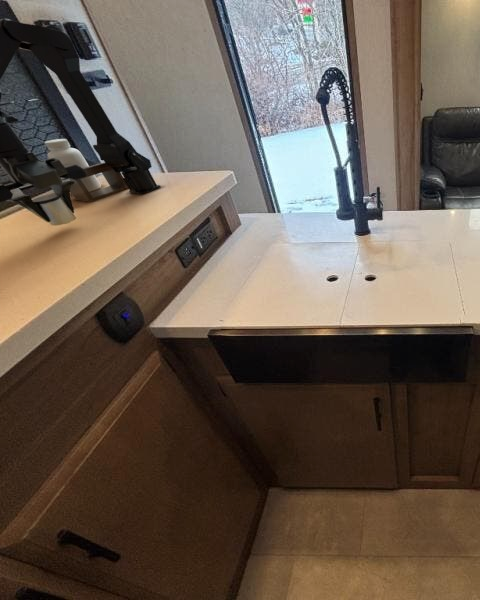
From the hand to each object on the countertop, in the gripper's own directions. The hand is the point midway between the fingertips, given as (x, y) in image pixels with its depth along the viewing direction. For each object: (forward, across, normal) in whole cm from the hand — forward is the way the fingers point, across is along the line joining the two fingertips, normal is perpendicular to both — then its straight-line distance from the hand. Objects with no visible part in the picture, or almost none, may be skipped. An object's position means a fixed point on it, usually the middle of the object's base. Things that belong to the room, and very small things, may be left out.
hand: (60, 217), depth 79 cm
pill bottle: (+3, +21, +30) cm, 37 cm away
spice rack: (+3, +20, +20) cm, 28 cm away
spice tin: (+1, 0, 0) cm, 1 cm away
